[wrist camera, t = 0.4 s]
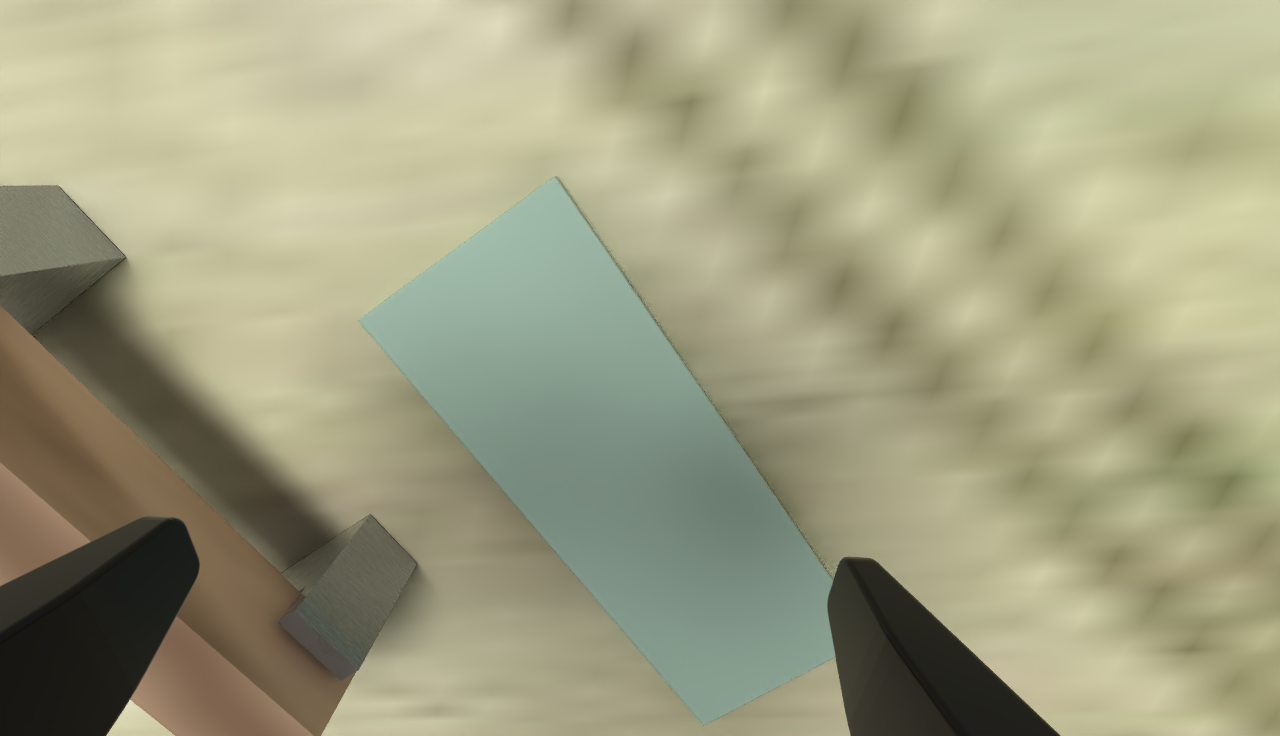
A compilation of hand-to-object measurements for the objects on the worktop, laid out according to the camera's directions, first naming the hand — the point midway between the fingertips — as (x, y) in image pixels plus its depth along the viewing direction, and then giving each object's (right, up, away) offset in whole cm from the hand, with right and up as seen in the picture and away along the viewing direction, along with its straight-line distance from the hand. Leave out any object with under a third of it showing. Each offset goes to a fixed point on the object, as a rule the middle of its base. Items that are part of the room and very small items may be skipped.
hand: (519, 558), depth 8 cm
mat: (+2, -2, +16) cm, 17 cm away
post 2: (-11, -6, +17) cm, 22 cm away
